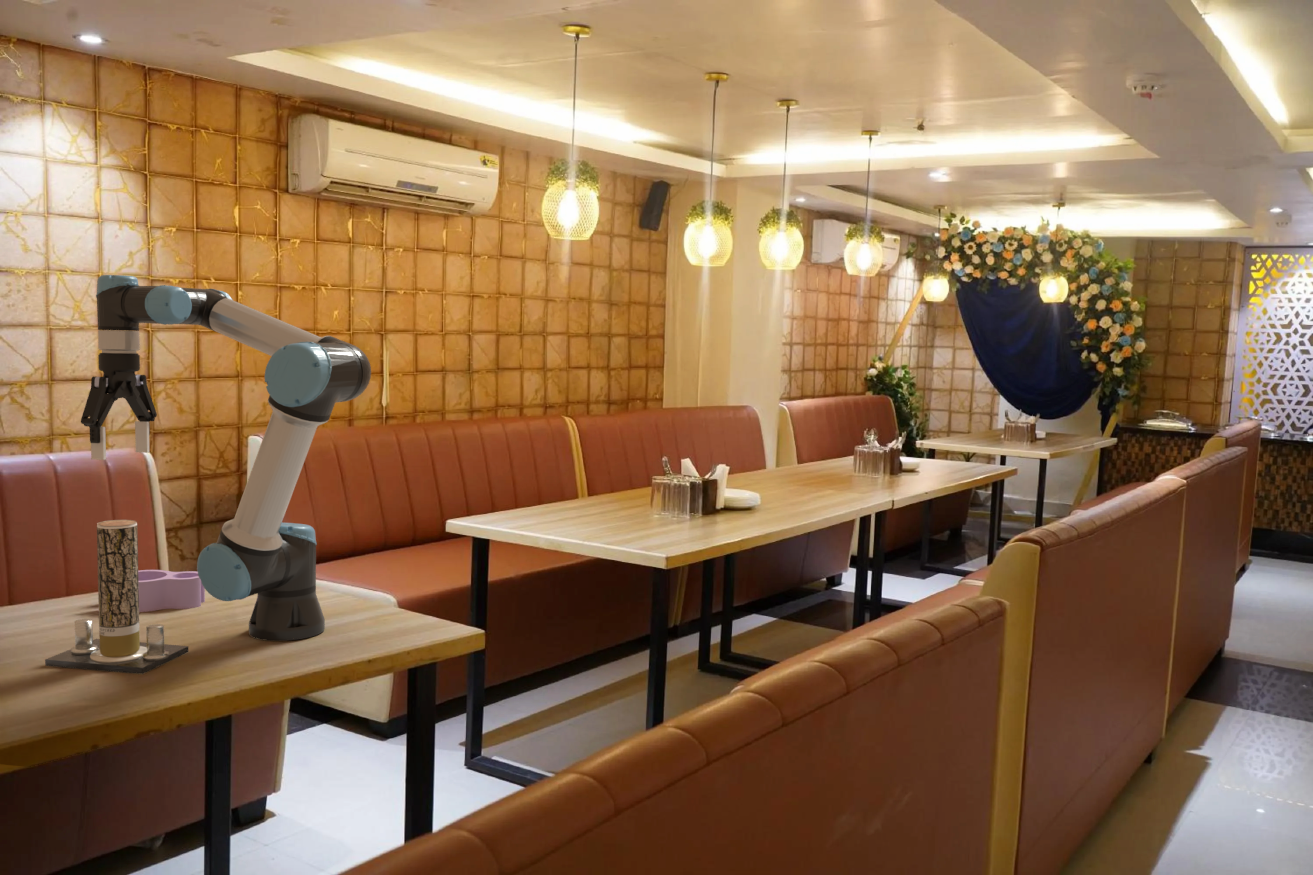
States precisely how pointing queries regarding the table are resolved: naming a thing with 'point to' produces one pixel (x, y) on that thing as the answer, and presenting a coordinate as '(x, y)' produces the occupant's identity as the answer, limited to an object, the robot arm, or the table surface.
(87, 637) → the collar post
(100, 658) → the white dome cap
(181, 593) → the clip
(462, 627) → the table surface
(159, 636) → the collar post
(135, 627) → the paper tube
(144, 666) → the plate
